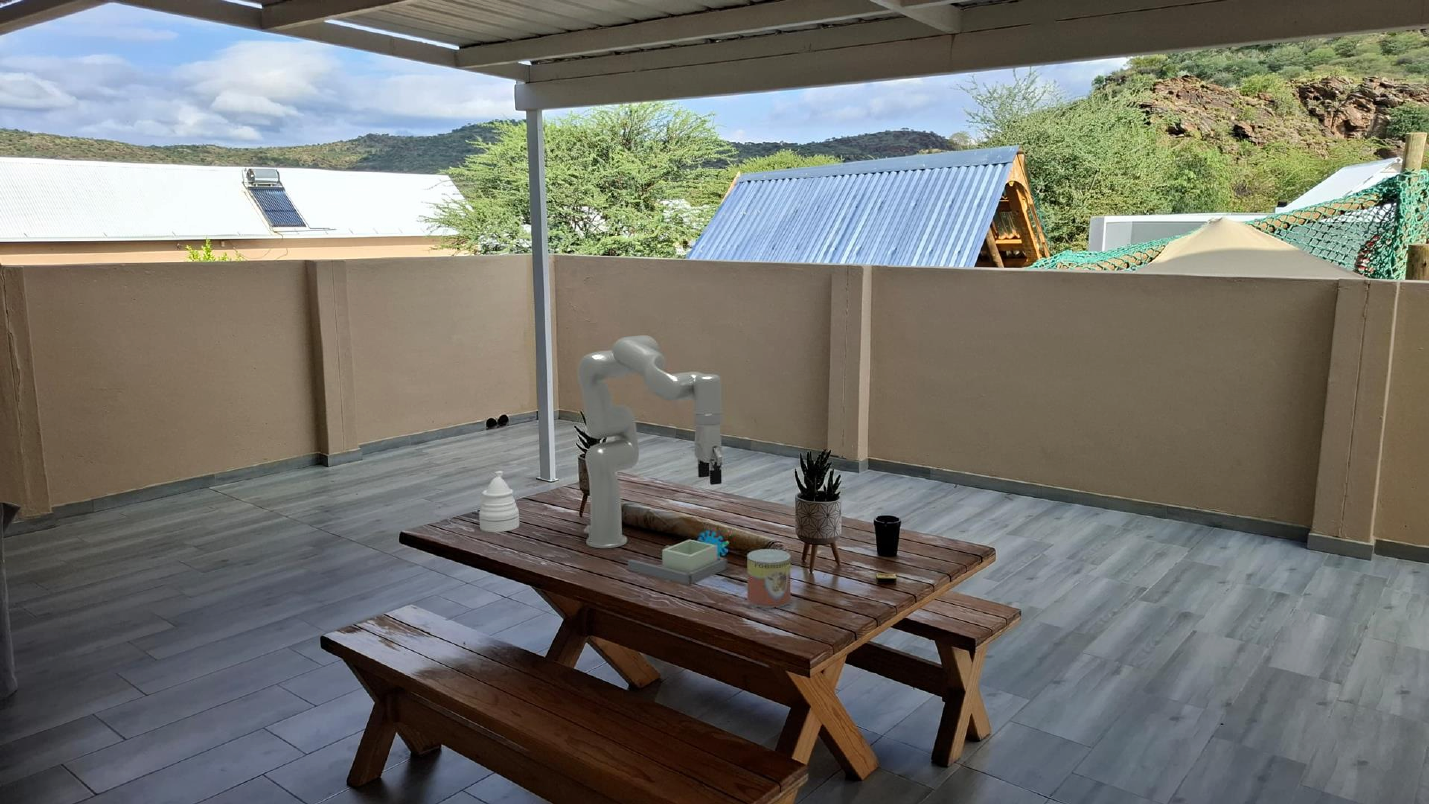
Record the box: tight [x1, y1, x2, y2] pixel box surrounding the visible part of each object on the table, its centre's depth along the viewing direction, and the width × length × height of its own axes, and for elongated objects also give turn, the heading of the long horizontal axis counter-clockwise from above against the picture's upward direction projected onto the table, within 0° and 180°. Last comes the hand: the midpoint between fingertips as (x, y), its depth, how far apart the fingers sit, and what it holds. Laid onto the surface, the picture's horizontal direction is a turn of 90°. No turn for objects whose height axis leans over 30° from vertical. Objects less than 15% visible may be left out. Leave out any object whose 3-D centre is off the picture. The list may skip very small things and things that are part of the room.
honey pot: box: [478, 470, 520, 533], centre depth 323 cm, size 13×13×18 cm
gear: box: [697, 529, 730, 557], centre depth 291 cm, size 11×6×10 cm
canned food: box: [746, 548, 792, 609], centre depth 254 cm, size 11×11×12 cm
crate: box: [661, 539, 717, 573], centre depth 273 cm, size 10×12×7 cm
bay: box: [627, 544, 729, 586], centre depth 276 cm, size 22×17×4 cm
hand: (709, 480), depth 271 cm, fingers open, 9 cm apart
